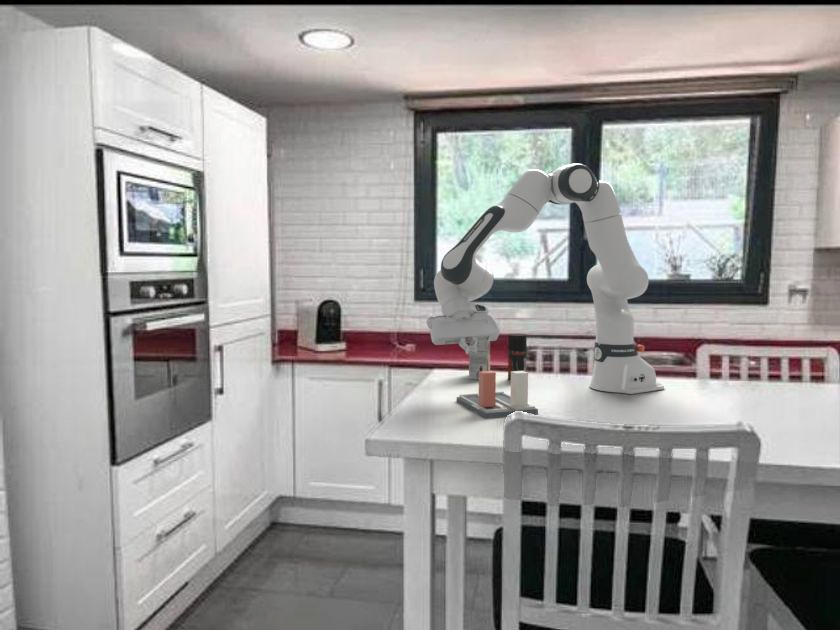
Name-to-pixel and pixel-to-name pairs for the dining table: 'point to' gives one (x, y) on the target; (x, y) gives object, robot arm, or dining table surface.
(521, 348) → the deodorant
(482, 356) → the coffee box
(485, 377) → the block
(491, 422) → the dining table surface
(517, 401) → the block
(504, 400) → the slotted fader panel
